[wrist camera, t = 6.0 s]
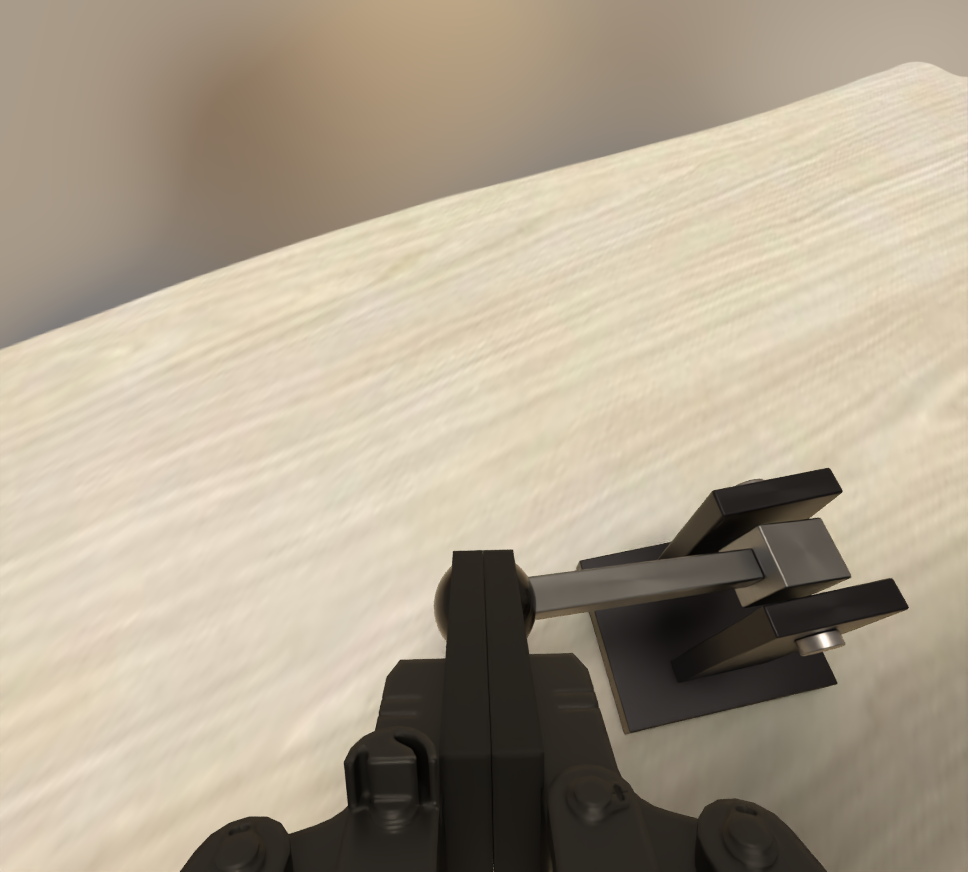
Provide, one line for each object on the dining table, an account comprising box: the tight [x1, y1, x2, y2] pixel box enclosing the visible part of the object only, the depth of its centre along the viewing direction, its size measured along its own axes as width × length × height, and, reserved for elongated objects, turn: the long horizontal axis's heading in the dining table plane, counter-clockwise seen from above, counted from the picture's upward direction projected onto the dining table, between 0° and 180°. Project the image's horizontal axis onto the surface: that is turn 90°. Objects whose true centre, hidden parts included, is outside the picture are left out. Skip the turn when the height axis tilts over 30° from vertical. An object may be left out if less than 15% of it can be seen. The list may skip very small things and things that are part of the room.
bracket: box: [577, 468, 909, 734], centre depth 24 cm, size 10×8×12 cm
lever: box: [434, 518, 851, 642], centre depth 19 cm, size 14×3×3 cm, turn 102°
